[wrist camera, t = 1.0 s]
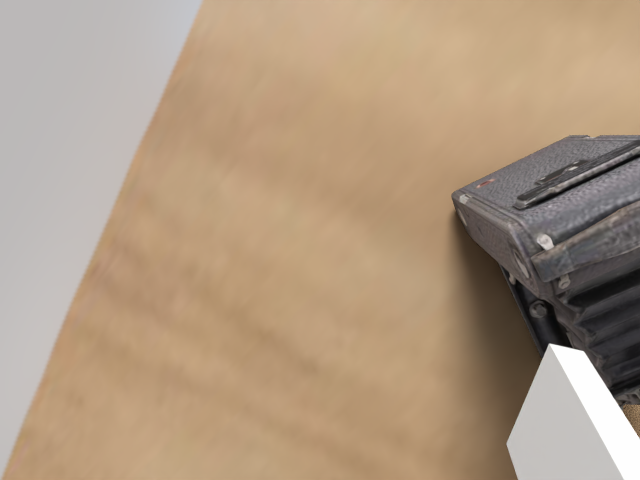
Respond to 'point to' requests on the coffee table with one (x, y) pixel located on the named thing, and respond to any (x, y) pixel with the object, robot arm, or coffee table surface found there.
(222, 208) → the coffee table surface
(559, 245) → the camera
